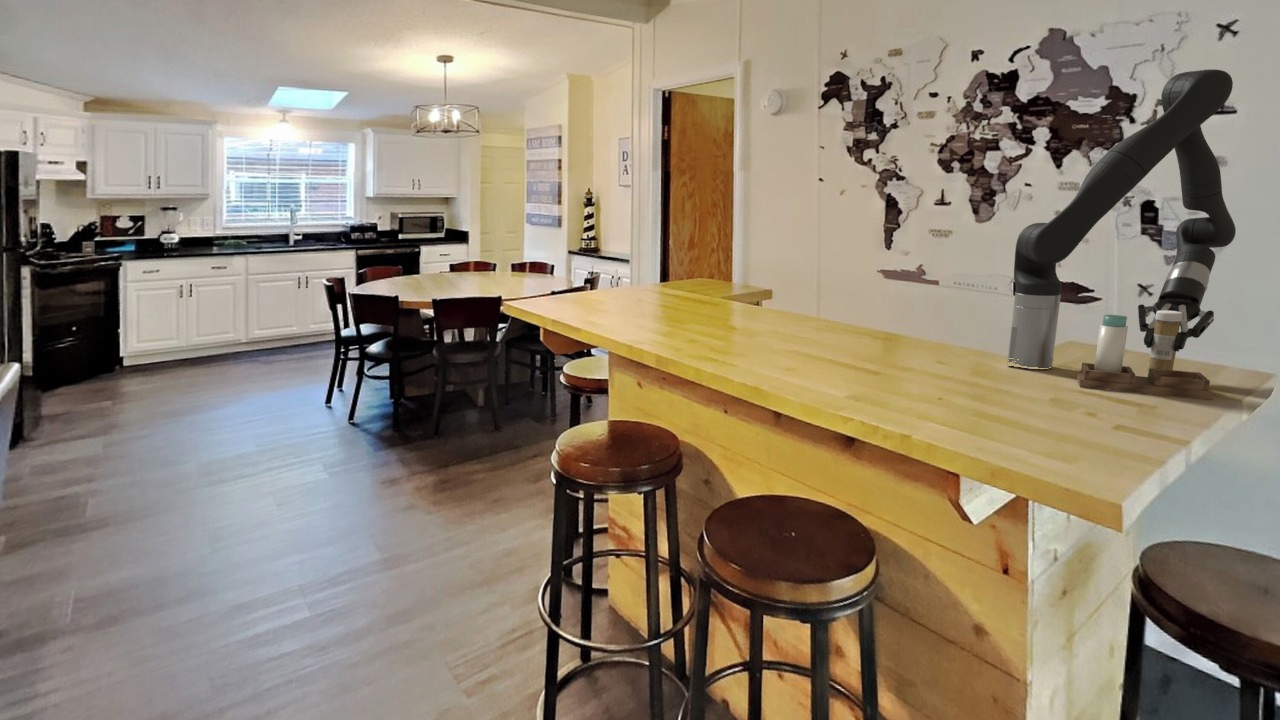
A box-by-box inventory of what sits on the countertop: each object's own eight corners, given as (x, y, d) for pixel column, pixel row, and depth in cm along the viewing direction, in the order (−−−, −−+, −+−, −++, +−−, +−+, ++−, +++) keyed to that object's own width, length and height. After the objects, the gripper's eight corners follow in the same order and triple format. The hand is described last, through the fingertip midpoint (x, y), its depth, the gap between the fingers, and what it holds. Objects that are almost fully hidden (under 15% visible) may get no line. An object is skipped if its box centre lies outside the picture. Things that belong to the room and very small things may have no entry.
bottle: (1094, 378, 147) (1102, 316, 144) (1092, 373, 151) (1100, 313, 148) (1121, 381, 145) (1130, 318, 142) (1118, 376, 149) (1127, 315, 146)
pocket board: (1079, 387, 146) (1081, 370, 145) (1076, 377, 155) (1078, 361, 154) (1212, 400, 136) (1215, 382, 135) (1200, 388, 145) (1203, 372, 144)
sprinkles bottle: (1176, 373, 152) (1186, 311, 149) (1167, 376, 150) (1177, 313, 147) (1151, 369, 156) (1161, 309, 153) (1142, 371, 153) (1152, 310, 150)
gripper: (1144, 273, 158) (1121, 332, 153) (1225, 278, 148) (1203, 341, 143) (1147, 295, 163) (1124, 352, 157) (1225, 301, 153) (1204, 363, 147)
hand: (1162, 347), depth 150 cm, fingers closed on sprinkles bottle, 4 cm apart
